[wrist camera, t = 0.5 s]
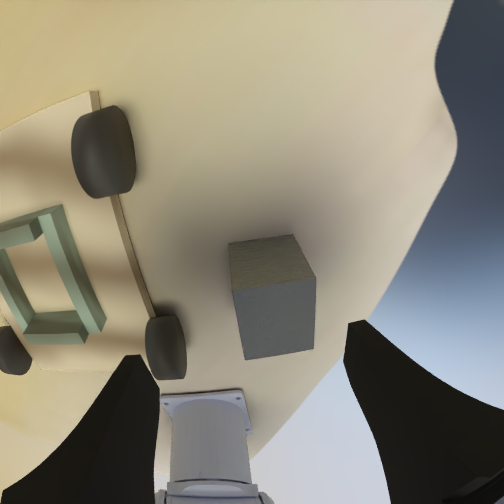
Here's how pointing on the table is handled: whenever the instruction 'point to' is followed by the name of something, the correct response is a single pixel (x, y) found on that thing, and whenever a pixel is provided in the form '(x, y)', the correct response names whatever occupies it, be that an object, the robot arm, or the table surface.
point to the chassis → (74, 248)
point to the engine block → (273, 296)
